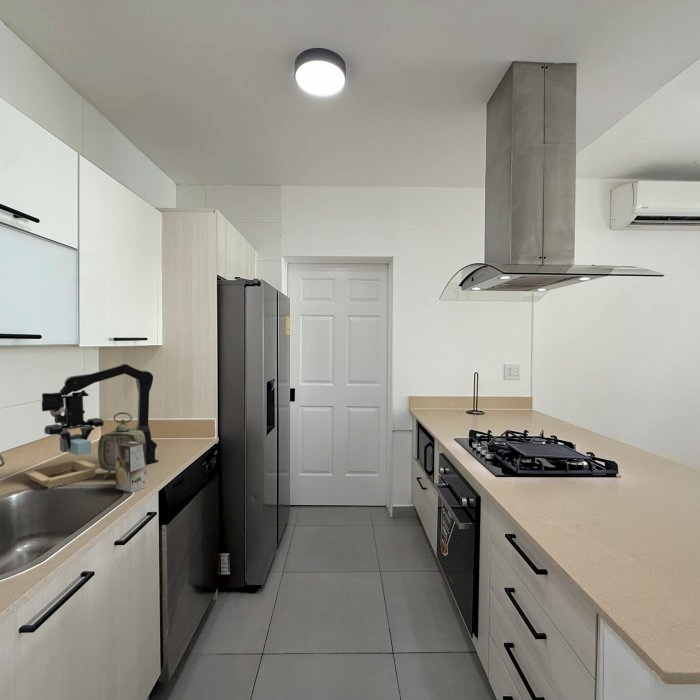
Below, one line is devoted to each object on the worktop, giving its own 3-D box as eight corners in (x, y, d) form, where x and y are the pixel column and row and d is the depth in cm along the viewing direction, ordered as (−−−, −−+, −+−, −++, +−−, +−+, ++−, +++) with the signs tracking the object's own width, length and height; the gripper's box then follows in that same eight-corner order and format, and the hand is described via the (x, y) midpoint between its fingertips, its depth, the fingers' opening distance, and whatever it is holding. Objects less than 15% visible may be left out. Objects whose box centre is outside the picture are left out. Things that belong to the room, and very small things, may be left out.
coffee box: (147, 487, 146) (147, 442, 145) (130, 493, 140) (130, 446, 140) (131, 482, 150) (130, 439, 150) (114, 488, 144) (113, 443, 144)
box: (93, 452, 158) (93, 438, 158) (75, 456, 153) (74, 441, 152) (78, 447, 166) (77, 433, 165) (60, 450, 160) (59, 437, 160)
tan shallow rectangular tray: (102, 476, 157) (102, 467, 157) (43, 491, 142) (43, 481, 141) (78, 467, 169) (78, 458, 169) (22, 480, 153) (22, 470, 153)
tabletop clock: (98, 480, 153) (97, 414, 152) (111, 472, 162) (110, 410, 161) (137, 479, 153) (136, 414, 153) (148, 472, 162) (147, 410, 162)
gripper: (90, 403, 171) (92, 439, 172) (38, 410, 156) (39, 450, 156) (103, 405, 165) (104, 443, 165) (49, 412, 150) (51, 454, 150)
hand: (75, 447), depth 159 cm, fingers closed on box, 4 cm apart
